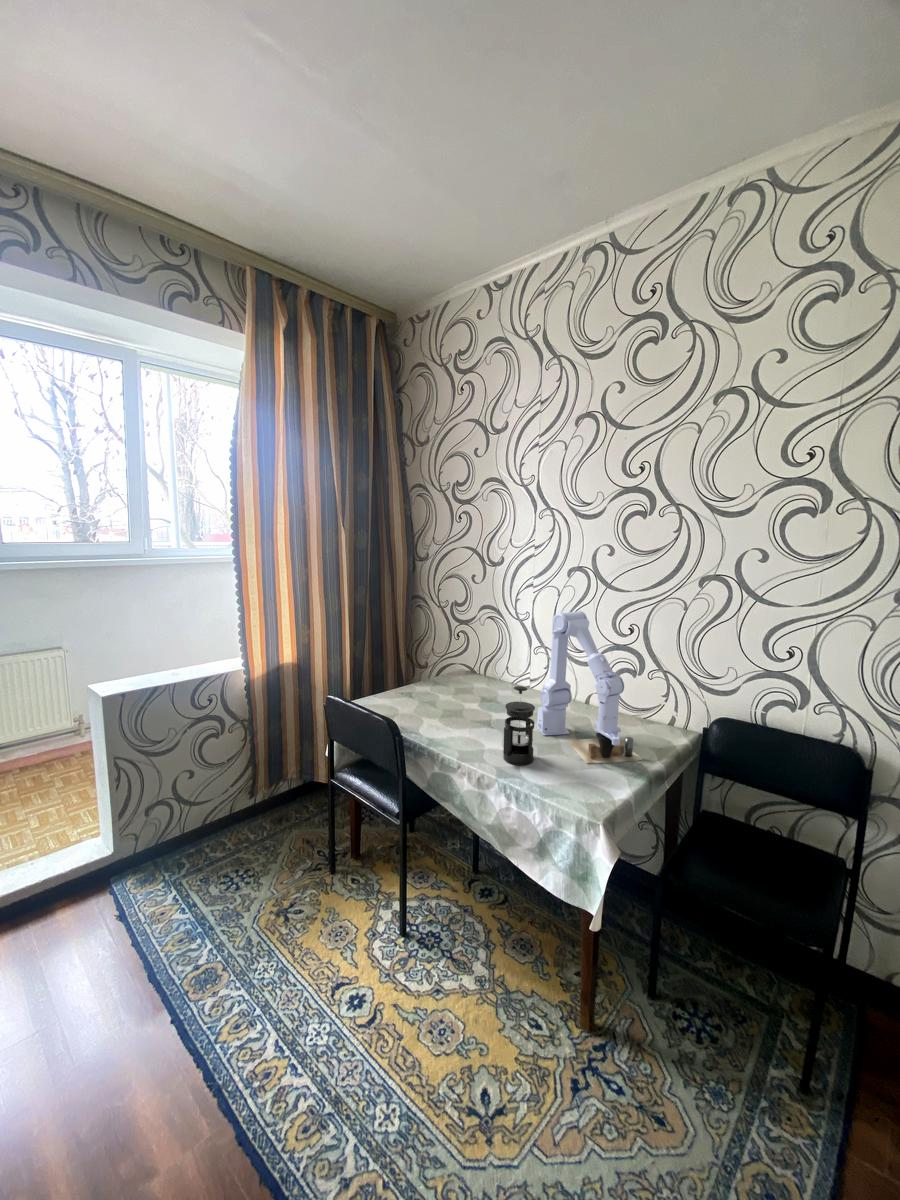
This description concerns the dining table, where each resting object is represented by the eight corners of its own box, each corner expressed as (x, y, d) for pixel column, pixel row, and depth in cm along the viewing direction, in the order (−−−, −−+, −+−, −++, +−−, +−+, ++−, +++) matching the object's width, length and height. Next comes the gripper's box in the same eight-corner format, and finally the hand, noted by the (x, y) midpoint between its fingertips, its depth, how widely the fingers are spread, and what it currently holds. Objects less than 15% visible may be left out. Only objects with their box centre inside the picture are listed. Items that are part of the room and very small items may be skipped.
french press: (517, 748, 159) (519, 680, 156) (541, 758, 152) (543, 687, 149) (493, 759, 151) (495, 688, 148) (517, 770, 144) (519, 696, 141)
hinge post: (626, 758, 152) (627, 740, 151) (622, 754, 155) (623, 737, 154) (633, 758, 153) (634, 739, 152) (629, 754, 155) (630, 736, 154)
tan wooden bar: (620, 752, 154) (621, 741, 154) (623, 755, 152) (624, 744, 152) (588, 754, 153) (588, 743, 152) (590, 757, 151) (591, 746, 150)
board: (586, 764, 149) (586, 762, 149) (566, 741, 164) (566, 740, 164) (642, 760, 151) (642, 759, 151) (617, 738, 167) (617, 737, 167)
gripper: (631, 724, 141) (628, 768, 143) (611, 706, 156) (609, 746, 158) (607, 724, 141) (604, 768, 143) (590, 706, 155) (588, 746, 157)
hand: (605, 757), depth 150 cm, fingers closed
